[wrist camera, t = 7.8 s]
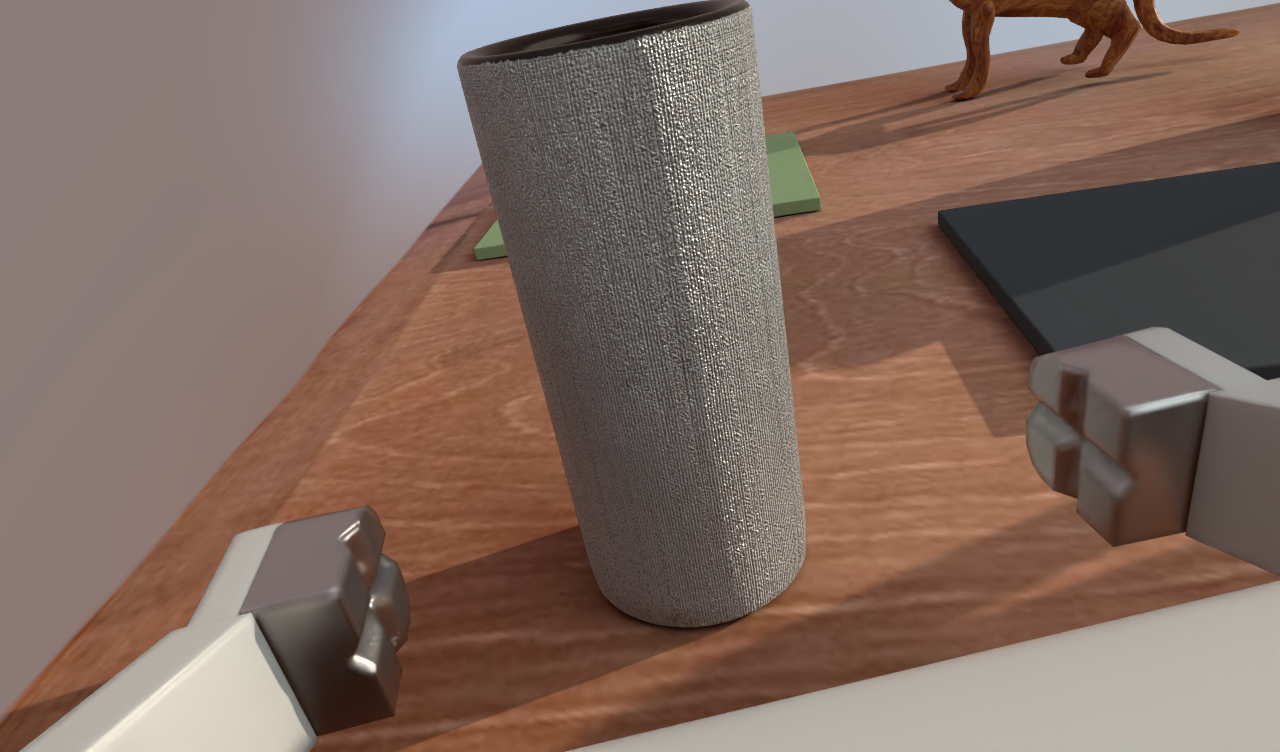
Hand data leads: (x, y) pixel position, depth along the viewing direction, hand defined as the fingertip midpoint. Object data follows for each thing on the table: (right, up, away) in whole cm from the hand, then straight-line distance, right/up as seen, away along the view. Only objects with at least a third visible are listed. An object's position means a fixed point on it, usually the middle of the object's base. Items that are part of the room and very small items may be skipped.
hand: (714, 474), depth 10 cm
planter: (0, -3, +7) cm, 8 cm away
